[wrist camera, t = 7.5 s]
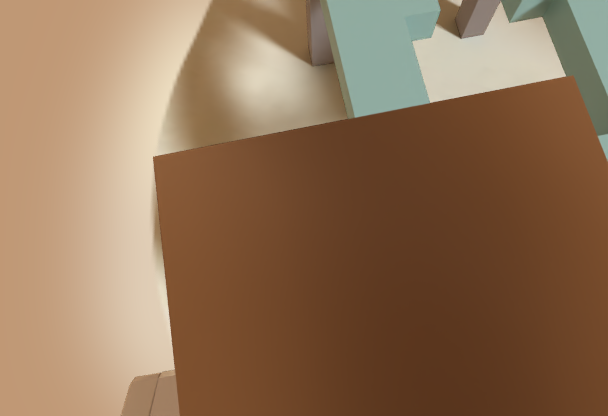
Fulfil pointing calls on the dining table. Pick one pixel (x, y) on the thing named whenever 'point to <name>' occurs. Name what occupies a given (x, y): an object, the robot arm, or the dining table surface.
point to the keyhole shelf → (471, 22)
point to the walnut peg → (395, 263)
